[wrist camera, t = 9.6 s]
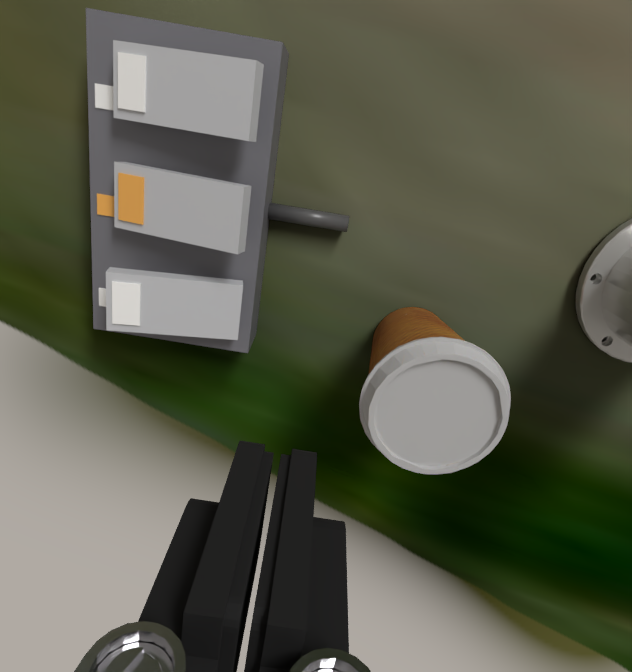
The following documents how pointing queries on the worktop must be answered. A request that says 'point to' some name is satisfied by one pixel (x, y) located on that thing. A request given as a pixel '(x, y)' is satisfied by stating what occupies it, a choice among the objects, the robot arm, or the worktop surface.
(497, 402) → the disposable coffee cup
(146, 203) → the block
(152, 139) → the rocker switch panel
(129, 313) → the block
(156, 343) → the worktop surface
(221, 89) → the block
